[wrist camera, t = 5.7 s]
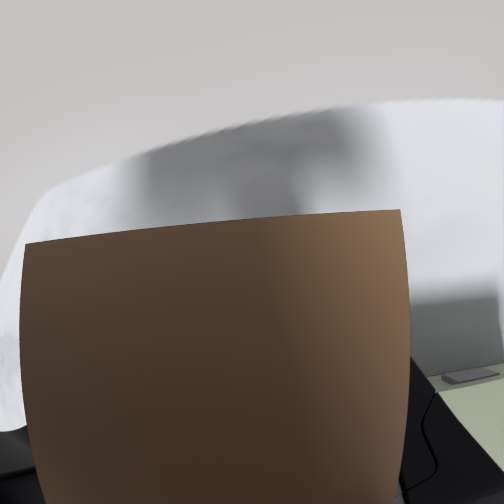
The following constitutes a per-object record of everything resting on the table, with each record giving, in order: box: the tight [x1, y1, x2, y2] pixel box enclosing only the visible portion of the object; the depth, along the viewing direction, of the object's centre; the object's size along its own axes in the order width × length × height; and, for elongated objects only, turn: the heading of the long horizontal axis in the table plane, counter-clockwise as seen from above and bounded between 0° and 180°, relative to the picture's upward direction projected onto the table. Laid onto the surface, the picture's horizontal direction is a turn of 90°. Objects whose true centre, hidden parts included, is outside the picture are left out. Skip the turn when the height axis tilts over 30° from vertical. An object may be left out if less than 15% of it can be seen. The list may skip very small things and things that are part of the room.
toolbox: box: [427, 362, 504, 471], centre depth 13 cm, size 17×11×6 cm, turn 0°
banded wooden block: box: [19, 209, 410, 504], centre depth 8 cm, size 4×4×13 cm
